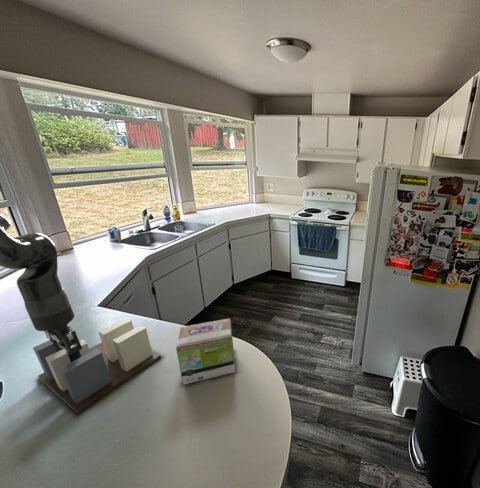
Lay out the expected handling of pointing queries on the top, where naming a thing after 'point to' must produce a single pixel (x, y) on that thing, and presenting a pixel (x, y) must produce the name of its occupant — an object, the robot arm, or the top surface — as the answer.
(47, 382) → the shelf board
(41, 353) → the grey book
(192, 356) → the tea box
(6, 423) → the top surface
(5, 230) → the robot arm
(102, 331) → the cream book
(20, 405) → the top surface
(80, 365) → the grey book
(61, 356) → the cream book
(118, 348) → the cream book
